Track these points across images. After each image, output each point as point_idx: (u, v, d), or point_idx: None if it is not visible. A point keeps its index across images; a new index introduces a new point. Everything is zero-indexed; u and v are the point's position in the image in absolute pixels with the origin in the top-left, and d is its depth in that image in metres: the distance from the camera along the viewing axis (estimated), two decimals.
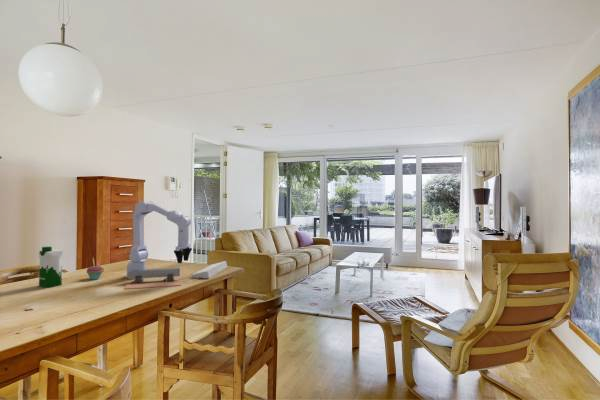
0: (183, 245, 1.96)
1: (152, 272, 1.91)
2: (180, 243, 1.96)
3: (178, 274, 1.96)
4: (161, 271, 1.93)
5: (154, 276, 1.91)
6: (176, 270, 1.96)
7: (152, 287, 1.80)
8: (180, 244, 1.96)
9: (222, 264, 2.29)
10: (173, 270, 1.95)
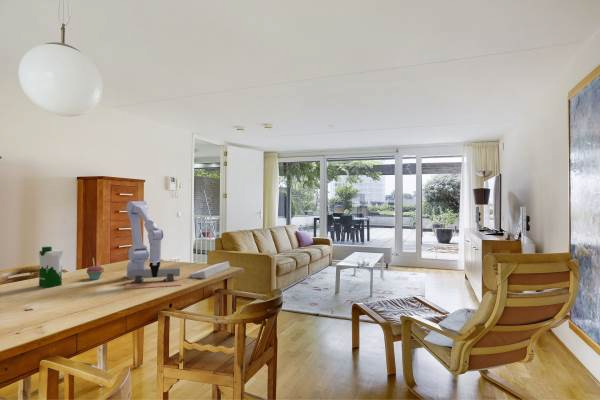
0: (157, 259, 1.91)
1: None
2: (154, 257, 1.91)
3: (178, 274, 1.96)
4: (161, 271, 1.93)
5: None
6: (176, 270, 1.96)
7: (152, 287, 1.80)
8: (154, 258, 1.91)
9: (223, 264, 2.28)
10: (173, 270, 1.95)
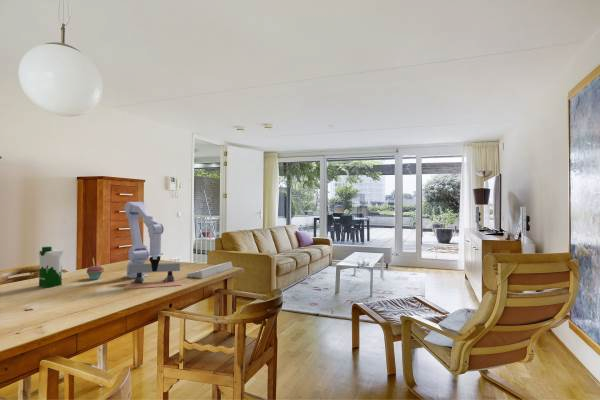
0: (157, 253, 1.91)
1: None
2: (154, 251, 1.91)
3: (178, 269, 1.96)
4: (161, 266, 1.93)
5: (154, 271, 1.91)
6: (176, 265, 1.96)
7: (152, 287, 1.80)
8: (154, 252, 1.91)
9: (225, 264, 2.27)
10: (173, 265, 1.95)
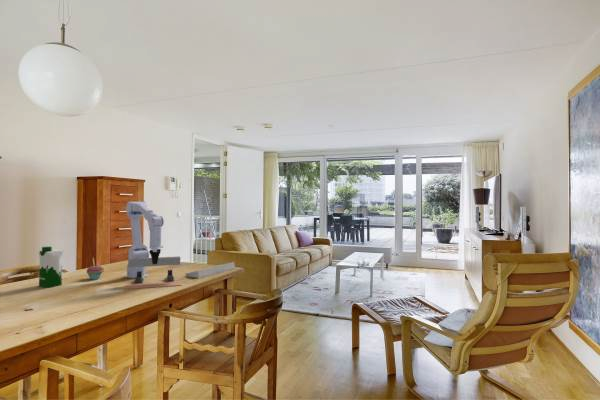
0: (157, 246, 1.89)
1: None
2: (154, 244, 1.88)
3: (179, 263, 1.93)
4: (161, 259, 1.90)
5: (154, 265, 1.89)
6: (177, 258, 1.93)
7: (152, 287, 1.80)
8: (154, 245, 1.88)
9: (226, 265, 2.26)
10: (173, 258, 1.92)
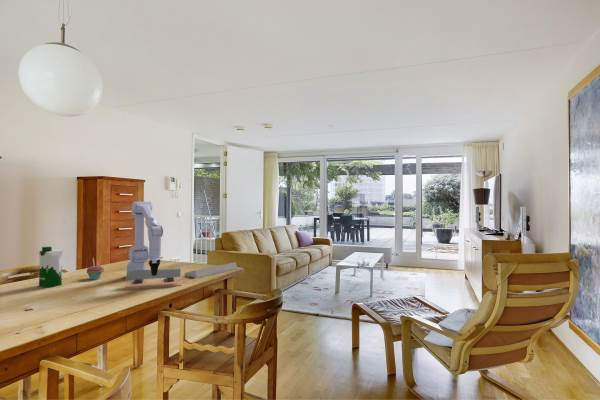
0: (157, 256, 1.83)
1: None
2: (153, 255, 1.82)
3: (179, 275, 1.87)
4: (161, 272, 1.84)
5: (154, 277, 1.83)
6: (177, 270, 1.87)
7: (152, 287, 1.80)
8: (153, 256, 1.82)
9: (227, 265, 2.26)
10: (173, 271, 1.86)
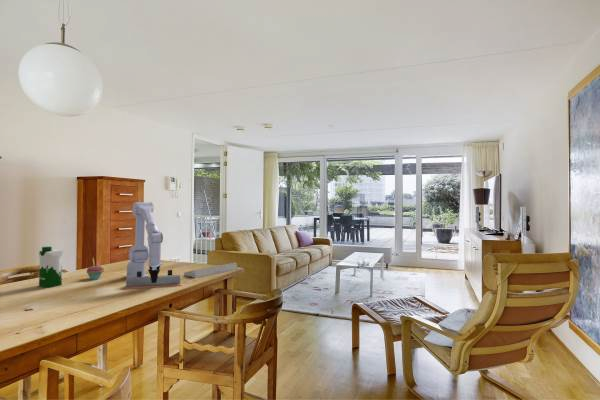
0: (157, 263, 1.83)
1: None
2: (153, 261, 1.82)
3: (178, 282, 1.87)
4: (161, 279, 1.84)
5: (153, 284, 1.83)
6: (177, 277, 1.87)
7: (152, 287, 1.80)
8: (153, 262, 1.82)
9: (227, 265, 2.26)
10: (173, 277, 1.86)
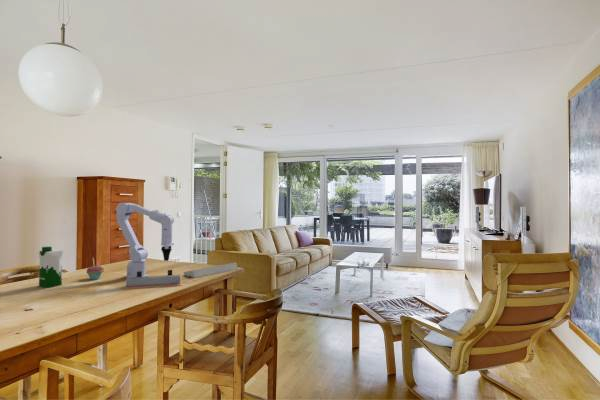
0: (169, 243, 2.01)
1: (151, 280, 1.82)
2: (166, 241, 2.00)
3: (178, 282, 1.87)
4: (161, 279, 1.84)
5: (153, 284, 1.83)
6: (177, 277, 1.87)
7: (152, 287, 1.80)
8: (166, 242, 2.00)
9: (227, 265, 2.25)
10: (173, 277, 1.86)
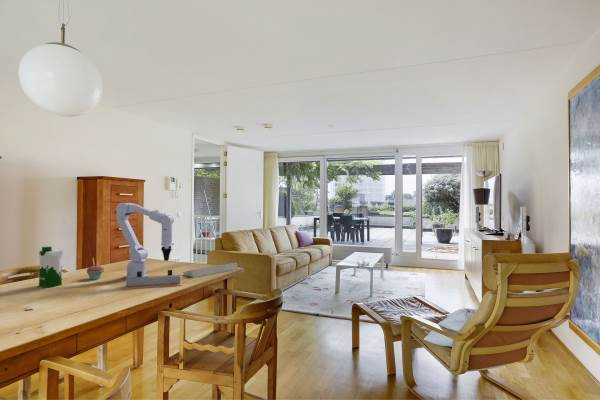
0: (169, 243, 2.01)
1: (151, 280, 1.82)
2: (166, 241, 2.00)
3: (178, 282, 1.87)
4: (161, 279, 1.84)
5: (153, 284, 1.83)
6: (177, 277, 1.87)
7: (152, 287, 1.80)
8: (166, 242, 2.00)
9: (227, 265, 2.25)
10: (173, 277, 1.86)
